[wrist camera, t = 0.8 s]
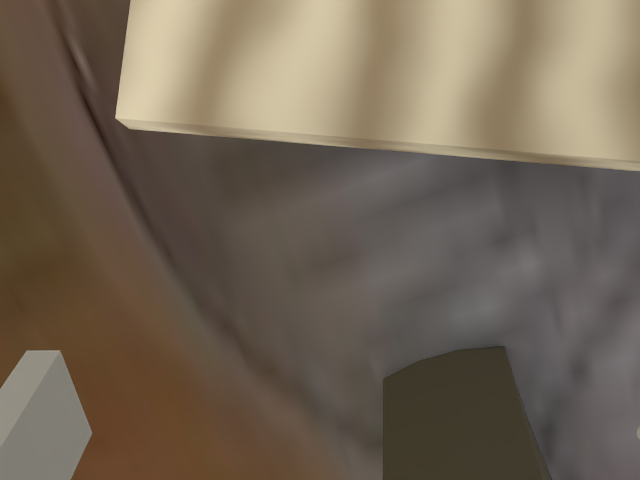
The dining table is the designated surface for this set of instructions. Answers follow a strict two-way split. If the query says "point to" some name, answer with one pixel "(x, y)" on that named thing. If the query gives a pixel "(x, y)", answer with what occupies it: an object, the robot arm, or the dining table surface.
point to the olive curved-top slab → (458, 421)
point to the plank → (393, 75)
